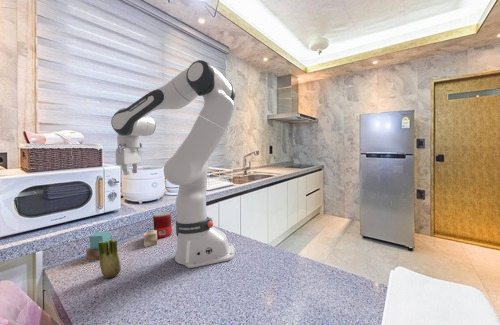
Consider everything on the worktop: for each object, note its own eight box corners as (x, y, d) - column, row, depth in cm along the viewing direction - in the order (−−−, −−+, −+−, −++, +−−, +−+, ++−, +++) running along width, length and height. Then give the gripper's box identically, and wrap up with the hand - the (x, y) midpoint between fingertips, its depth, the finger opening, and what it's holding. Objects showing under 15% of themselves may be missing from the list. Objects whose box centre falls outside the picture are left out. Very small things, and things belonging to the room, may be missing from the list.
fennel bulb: (98, 277, 72) (95, 241, 71) (113, 270, 76) (110, 236, 76) (109, 281, 70) (106, 244, 69) (124, 273, 74) (121, 238, 73)
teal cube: (111, 243, 91) (110, 231, 91) (103, 248, 86) (102, 235, 86) (98, 243, 91) (97, 231, 91) (90, 249, 86) (89, 236, 86)
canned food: (175, 233, 109) (173, 211, 108) (161, 239, 102) (159, 216, 102) (165, 231, 113) (163, 210, 113) (151, 237, 106) (149, 214, 106)
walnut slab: (116, 251, 92) (115, 242, 92) (103, 259, 85) (102, 249, 85) (100, 251, 93) (100, 242, 93) (87, 259, 86) (86, 249, 86)
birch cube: (157, 240, 102) (156, 229, 101) (157, 244, 97) (156, 233, 97) (145, 242, 100) (144, 231, 100) (144, 246, 95) (143, 235, 95)
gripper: (126, 143, 92) (128, 175, 93) (143, 144, 112) (145, 171, 113) (110, 143, 91) (112, 176, 92) (130, 145, 112) (132, 172, 112)
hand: (130, 174), depth 103 cm, fingers open, 8 cm apart
